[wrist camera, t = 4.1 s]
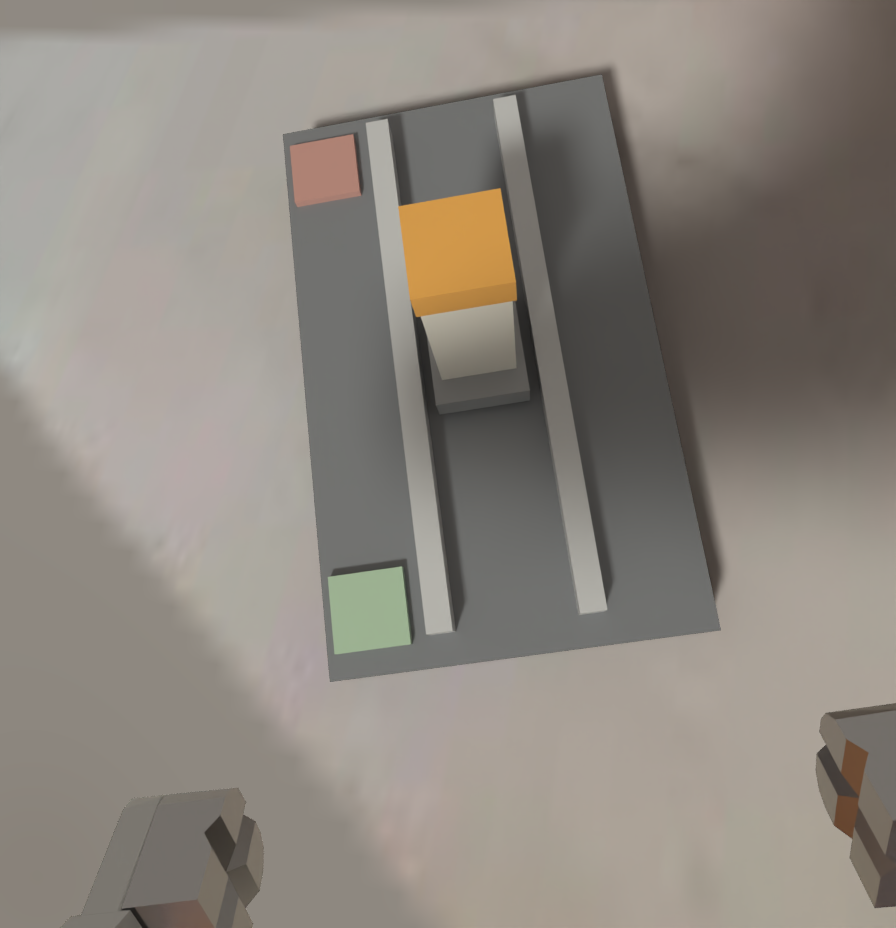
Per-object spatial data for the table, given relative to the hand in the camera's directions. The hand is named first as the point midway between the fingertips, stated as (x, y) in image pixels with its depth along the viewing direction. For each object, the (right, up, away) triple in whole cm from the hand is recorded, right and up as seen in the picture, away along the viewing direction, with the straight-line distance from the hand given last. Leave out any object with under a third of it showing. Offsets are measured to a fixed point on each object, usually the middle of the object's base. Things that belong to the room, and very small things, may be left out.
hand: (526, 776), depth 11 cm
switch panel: (0, +8, +17) cm, 19 cm away
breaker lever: (0, +8, +15) cm, 17 cm away
